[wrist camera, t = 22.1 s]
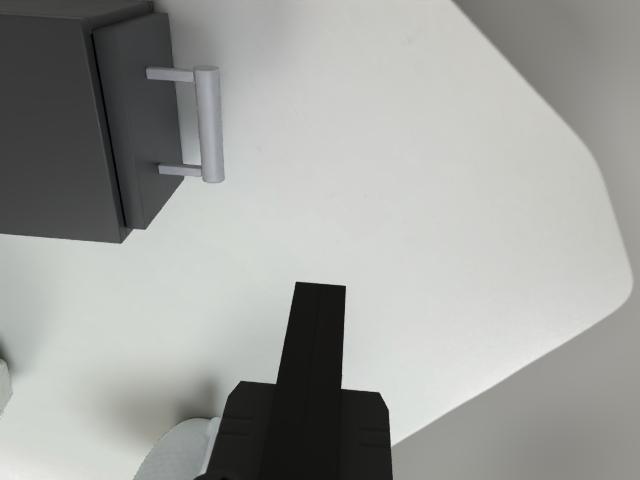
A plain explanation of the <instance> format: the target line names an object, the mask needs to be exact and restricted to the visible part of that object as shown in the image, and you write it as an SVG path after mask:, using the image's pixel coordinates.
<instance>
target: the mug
mask: <svg viewBox="0 0 640 480" xmlns="http://www.w3.org/2000/svg"><path fill="white" fill-rule="evenodd" d="M221 419H222V418H220V417H214V418H212V419H211V420H209V419H204V418H193V419H188V420H185V421H183V422H181V423H179V424H177V425H176V426H174V427H173V428H172V429H171V430H169V431H168V432H167V433H165V434H164V436H163V437H162V438H161V439H159V441H158V442H157V444H156V445H154V447H153V448H152V449H151V451H150V452H149V454H148V455H147V456H146V458H145V460H144V462H143V463H142V464H141V466H140V467H139V470H138V472H137V473H136V475H135V476H134V479H133V480H193V479H195V478H196V477H197V476H199V475H202V474H204V473H206V469H207V466H208V463H209V459H210V456H211V452H212V449H213V446H214V442H215V439H216V436H217V433H218V429H219V425H220V422H221Z"/></svg>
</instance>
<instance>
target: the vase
mask: <svg viewBox="0 0 640 480" xmlns="http://www.w3.org/2000/svg"><path fill="white" fill-rule="evenodd" d="M12 394H13V390H12V384H11V379H10V375H9V370H8V366H7V364H6V362H5V361H4V360H2V359H0V418H1V416H2V414H3V411H4V408H5V407H6V405H7V404H8V402H9V400H10V398H11V396H12Z"/></svg>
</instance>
